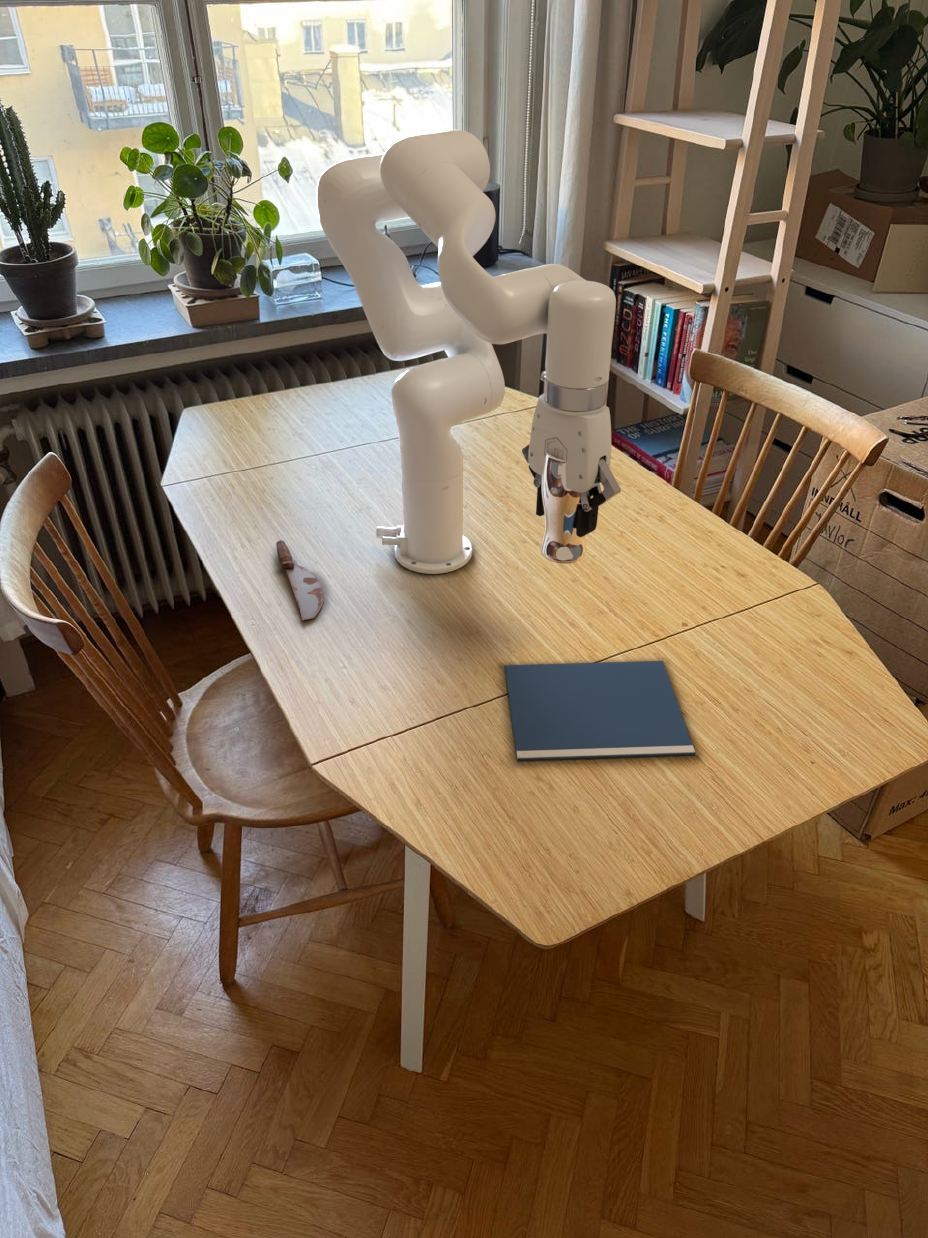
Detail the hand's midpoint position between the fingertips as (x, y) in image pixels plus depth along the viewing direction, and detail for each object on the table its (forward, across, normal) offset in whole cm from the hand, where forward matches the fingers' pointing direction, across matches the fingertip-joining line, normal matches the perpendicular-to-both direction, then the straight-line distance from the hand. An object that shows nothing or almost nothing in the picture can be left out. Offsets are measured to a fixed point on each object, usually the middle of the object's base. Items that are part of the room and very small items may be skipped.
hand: (565, 521), depth 120 cm
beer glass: (+5, 0, 0) cm, 5 cm away
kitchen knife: (+20, -37, -18) cm, 46 cm away
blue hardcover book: (+20, +13, -7) cm, 25 cm away
